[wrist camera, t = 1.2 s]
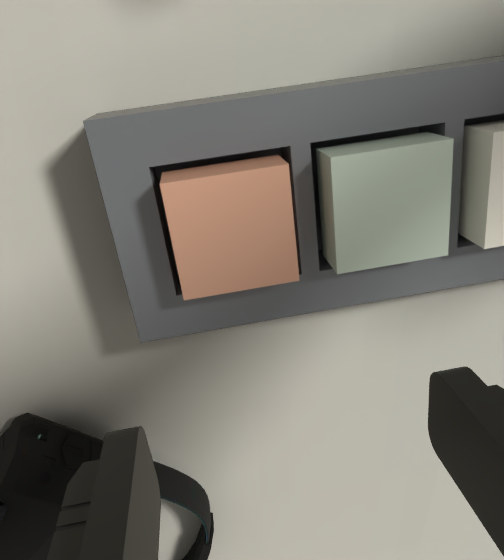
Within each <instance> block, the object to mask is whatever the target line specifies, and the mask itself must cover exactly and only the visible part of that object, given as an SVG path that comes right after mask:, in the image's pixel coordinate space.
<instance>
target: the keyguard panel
mask: <svg viewBox="0 0 504 560" xmlns="http://www.w3.org/2000/svg"><path fill="white" fill-rule="evenodd" d="M499 120H504V55H503V56H496V57H489V58H483V59H476V60H469V61H462V62H455V63H448V64H441V65H434V66H427V67H420V68H413V69H406V70H399V71H392V72H385V73H378V74H371V75H364V76H357V77H350V78H343V79H336V80H329V81H322V82H315V83H308V84H301V85H294V86H287V87H280V88H273V89H266V90H259V91H252V92H245V93H238V94H231V95H224V96H217V97H210V98H203V99H196V100H189V101H182V102H175V103H168V104H161V105H154V106H147V107H140V108H133V109H126V110H119V111H112V112H105V113H98V114H96V115H94V116H92V117H90V118H88V119H86V120H84V121H83V123H84V127H85V131H86V135H87V139H88V142H89V146H90V150H91V154H92V158H93V162H94V166H95V169H96V173H97V177H98V181H99V185H100V189H101V192H102V196H103V200H104V204H105V208H106V212H107V215H108V219H109V223H110V227H111V231H112V235H113V238H114V242H115V246H116V250H117V254H118V258H119V261H120V265H121V269H122V273H123V277H124V281H125V285H126V288H127V292H128V296H129V300H130V304H131V308H132V311H133V315H134V319H135V323H136V327H137V331H138V334H139V338H140V342H141V343H142V342H147V341H153V340H159V339H164V338H170V337H176V336H181V335H187V334H193V333H199V332H204V331H210V330H216V329H221V328H227V327H233V326H238V325H244V324H250V323H255V322H261V321H267V320H272V319H278V318H284V317H290V316H295V315H301V314H307V313H312V312H318V311H324V310H329V309H335V308H341V307H346V306H352V305H358V304H363V303H369V302H375V301H380V300H386V299H392V298H398V297H403V296H409V295H415V294H420V293H426V292H432V291H437V290H443V289H449V288H454V287H460V286H466V285H471V284H477V283H483V282H489V281H494V280H500V279H504V246H500V247H494V248H488V249H483V248H482V247H480V246H478V245H477V244H475V243H473V242H472V241H470V240H468V239H467V238H465V237H463V236H462V235H460V234H458V224H459V206H460V188H461V170H462V152H463V135H464V126H466V125H473V124H480V123H486V122H493V121H499ZM421 132H430V133H434V134H438V135H442V136H445V137H449V138H453V139H454V142H453V163H452V184H451V205H450V226H449V247H448V255H447V256H441V257H435V258H429V259H424V260H418V261H412V262H406V263H400V264H394V265H388V266H383V267H377V268H371V269H365V270H359V271H353V272H348V273H342V274H337V273H336V272H335V271H334V269H333V268H332V267H331V265H330V264H329V262H328V261H327V260H326V258H325V257H324V256H323V247H322V233H321V218H320V204H319V189H318V175H317V160H316V148H322V147H329V146H335V145H342V144H349V143H355V142H362V141H368V140H375V139H381V138H388V137H394V136H401V135H407V134H414V133H421ZM276 154H278V155H279V156H280V157H281V158H283V159H284V160H285V161H286V162H287V163H288V164H289V173H290V183H291V194H292V205H293V216H294V226H295V237H296V248H297V259H298V269H299V280H300V281H295V282H289V283H283V284H277V285H272V286H266V287H260V288H254V289H248V290H242V291H236V292H231V293H225V294H219V295H213V296H207V297H201V298H196V299H190V300H184V299H183V294H182V289H181V284H180V279H179V275H178V270H177V265H176V260H175V255H174V251H173V246H172V241H171V236H170V231H169V226H168V222H167V217H166V212H165V207H164V202H163V198H162V193H161V188H160V180H161V175H162V172H165V171H172V170H178V169H185V168H191V167H198V166H204V165H211V164H217V163H224V162H231V161H237V160H244V159H250V158H257V157H263V156H270V155H276Z"/></svg>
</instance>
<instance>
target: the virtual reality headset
mask: <svg viewBox="0 0 504 560" xmlns="http://www.w3.org/2000/svg"><path fill="white" fill-rule="evenodd" d="M103 442H104V441H102V440H100V439H97V438H94V437H91V436H89V435H86V434H83V433H81V432H79V431H76V430H74V429H71V428H68V427H65V426H63V425H60V424H57V423H55V422H52V421H49V420H46V419H44V418H41V417H38V416H36V415H33V414H30V413H26V414H24V415H21V416H19V417H17V418H15V419H14V421H13V422H12V423H11V426H10V427H9V428H8V429H7V431H6V432H4V433H3V434H2V435H1V437H0V560H47V557H48V553H49V549H50V546H51V542H52V539H53V535H54V532H56V524H57V521H58V517H59V513H60V512H61V511H62V508H61V506H62V503H63V499H64V495H65V492H66V488H67V485H68V483H69V481H70V480H71V479H72V477H73V476H74V475H75V473H76V472H77V470H78V469H79V468H80V466H81V465H82V463H83V462H88V461H94V460H99V459H100V456H101V451H102V446H103ZM153 463H154V467H155V471H156V474H157V478H158V483H159V489H160V498H162V499H165V500H168V501H170V502H173V503H176V504H178V505H180V506H183V507H185V508H186V509H188V510H190V511H192V512H193V513H194V514H196V515H197V516H198V517H199V518H200V520H201V521H202V525H201V528H200V530H199V533H198V535H197V538H196V541H195V542H194V544H193V546H192V547H191V549H190V550H189V552H188V554H187V555H186V556H185V557H184V558H183V559H182V560H207V559H208V556H209V553H210V550H211V544H212V538H213V532H214V522H213V513H210V504H209V499H208V496H207V494H206V492H205V490H204V489H203V488H202V486H201V485H200V484H199V483H198V482H196V481H195V480H194V479H192V478H191V477H189V476H187V475H185V474H183V473H181V472H179V471H178V470H175V469H173V468H170V467H168V466H165V465H162V464H160V463H157V462H154V461H153Z"/></svg>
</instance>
